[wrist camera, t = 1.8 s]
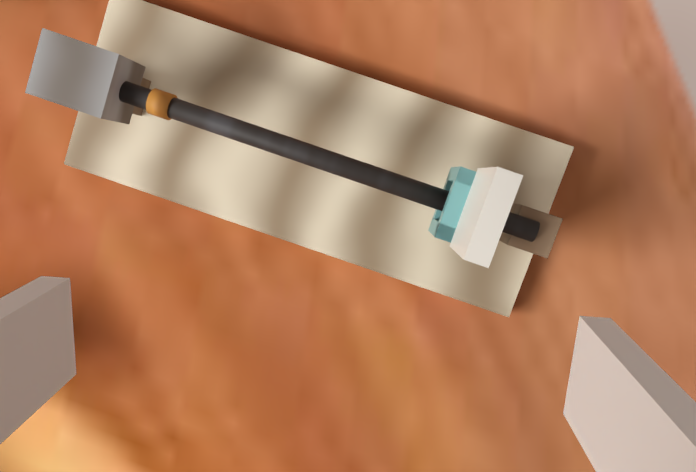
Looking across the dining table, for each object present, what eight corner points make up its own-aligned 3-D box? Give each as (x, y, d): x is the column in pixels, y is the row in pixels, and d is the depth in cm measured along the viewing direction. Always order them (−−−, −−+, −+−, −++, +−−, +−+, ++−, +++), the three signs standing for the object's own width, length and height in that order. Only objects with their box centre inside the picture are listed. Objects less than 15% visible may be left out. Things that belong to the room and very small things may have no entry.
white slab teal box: (499, 180, 34) (542, 181, 25) (473, 249, 35) (507, 274, 26) (451, 164, 34) (478, 160, 25) (427, 233, 35) (444, 253, 26)
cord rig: (566, 148, 39) (621, 139, 30) (504, 312, 40) (539, 349, 31) (122, -3, 39) (48, -55, 30) (75, 164, 40) (-8, 161, 32)
